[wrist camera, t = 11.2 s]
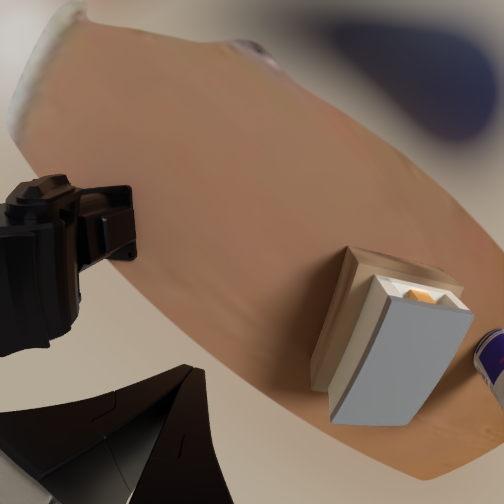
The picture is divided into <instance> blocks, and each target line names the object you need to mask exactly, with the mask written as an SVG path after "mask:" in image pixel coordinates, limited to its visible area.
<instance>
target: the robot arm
mask: <svg viewBox="0 0 504 504" xmlns="http://www.w3.org/2000/svg"><path fill="white" fill-rule="evenodd" d="M125 188H126V189H127V193H125ZM135 239H136V231H135V219H134V210H133V202H132V189H131V187H130V186H129V185H119V186H108V187H97V188H88V189H82V188H77V187H74V186H72V185H71V183H69V181H68V179H67V177H66V175H64V174H55V175H48V176H44V177H41V178H39V179H33V180H32V181H30V182H22V183H20V184H19V185H18V186H17V187H16V188H15V189H14V190H13V191H12V193H11V194H10V195H9V196H8V197H7V198H6V203H3V204H0V357H5V356H7V355H10V354H12V353H15V352H18V351H21V350H24V349H31V348H49V347H50V343H49V340H53V339H55V338H58V337H61V336H63V335H64V334H66V333H67V332H68V331H70V330H71V325H72V324H73V322H74V321H75V320H76V318H77V317H78V313H79V303H80V301H81V293H80V289H79V273H80V272H81V271H83V270H85V269H87V268H89V267H90V266H92V265H94V264H96V263H97V262H99V261H101V260H103V259H115V260H129V261H132V260H134V259H135V258H136V257H137V249H136V240H135ZM130 253H132V256H131V255H130ZM135 487H136V488H135ZM134 489H135V490H134ZM133 490H134V492H133ZM132 492H133V495H132V497H131V499H130V502H129V504H234V503H233V500H232V498H231V495H230V493H229V490H228V487H227V485H226V482H225V480H224V477H223V474H222V471H221V469H220V466H219V463H218V460H217V457H216V454H215V451H214V447H213V443H212V437H211V430H210V422H209V413H208V403H207V392H206V380H205V371H204V370H203V369H200V368H193V367H192V366H189V365H186V364H182V365H180V366H177V367H175V368H173V369H170V370H168V371H165V372H163V373H160V374H158V375H155V376H153V377H150V378H148V379H145V380H142V381H140V382H137V383H135V384H132V385H129V386H127V387H124V388H121V389H118V390H115V392H114V391H112V392H109V393H106V394H103V395H99V396H96V397H93V398H89V399H85V400H80V401H76V402H71V403H65V404H59V405H54V406H48V407H42V408H35V409H28V410H20V411H12V412H1V413H0V504H126V502H127V500H128V498H129V496H130V495H131V493H132Z"/></svg>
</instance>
